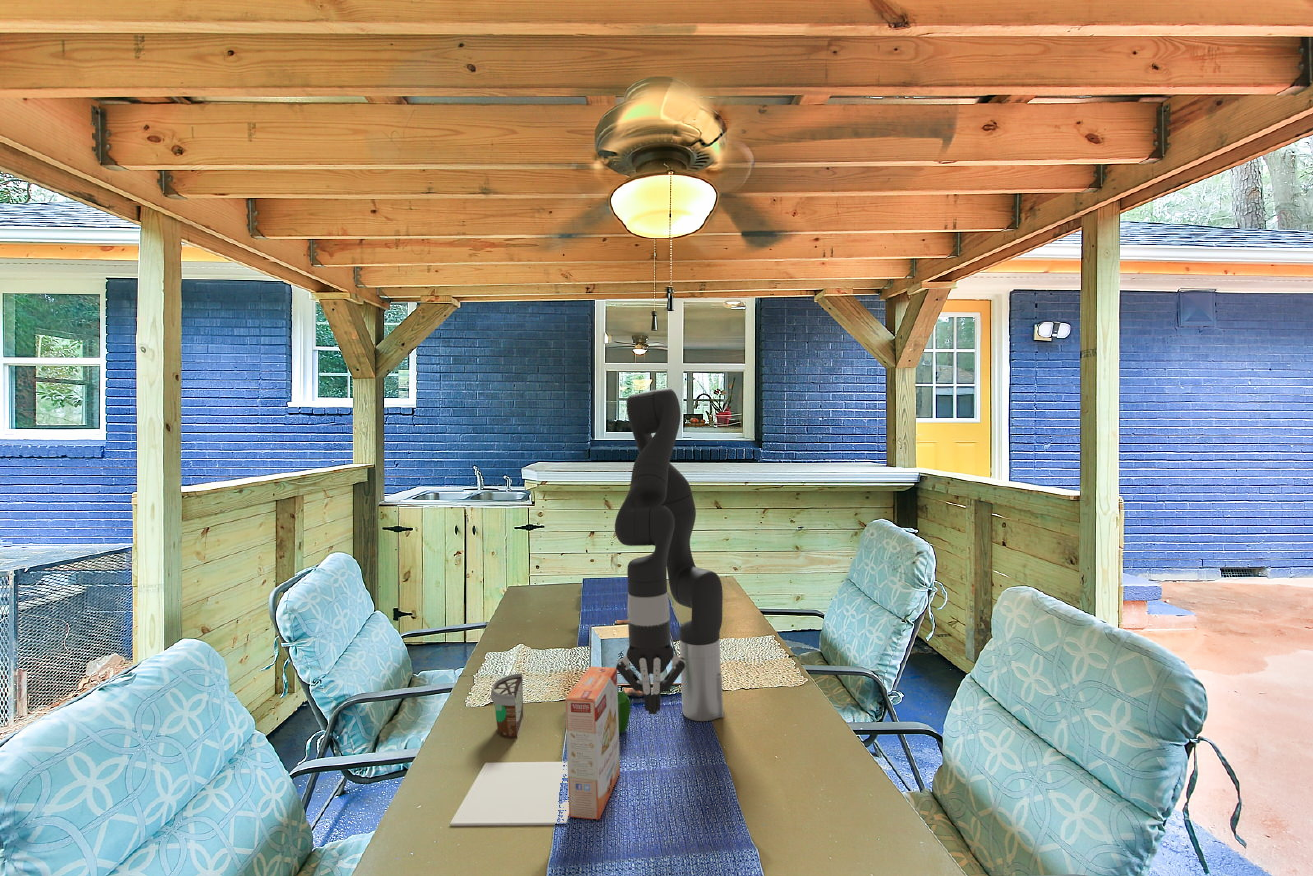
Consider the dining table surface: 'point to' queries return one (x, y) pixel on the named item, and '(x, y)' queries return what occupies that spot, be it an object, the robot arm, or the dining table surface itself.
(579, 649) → the dining table surface
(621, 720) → the bell pepper
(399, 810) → the dining table surface
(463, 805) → the off-white mat
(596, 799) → the cracker box
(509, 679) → the food container
